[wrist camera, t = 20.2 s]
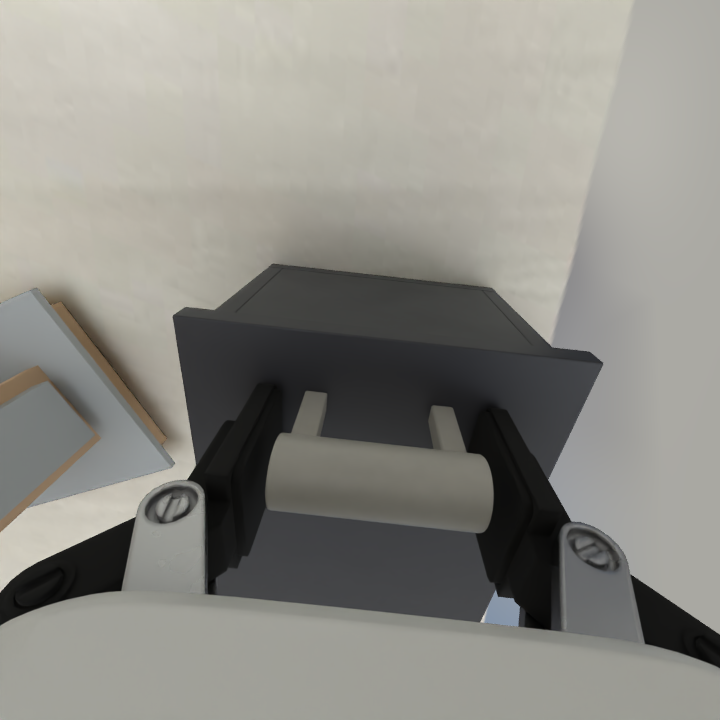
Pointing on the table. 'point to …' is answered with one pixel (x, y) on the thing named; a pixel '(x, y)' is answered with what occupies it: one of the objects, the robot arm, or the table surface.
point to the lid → (374, 452)
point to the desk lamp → (64, 411)
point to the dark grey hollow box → (383, 304)
